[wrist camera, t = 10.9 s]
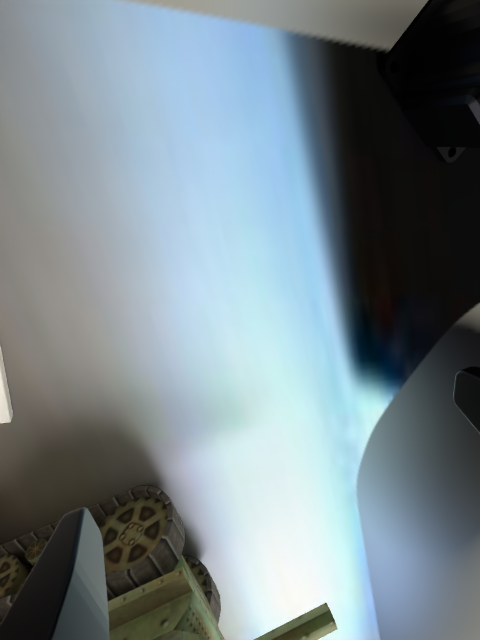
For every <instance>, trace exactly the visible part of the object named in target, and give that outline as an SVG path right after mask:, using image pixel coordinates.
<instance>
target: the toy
mask: <svg viewBox="0 0 480 640" xmlns="http://www.w3.org/2000/svg"><path fill="white" fill-rule="evenodd" d="M87 509H88V510H89V512H90V514H91V515H92V517H93V519H94V521H95V523H96V525H97V526H98V528H99V530H100V533H101V536H102V542H103V554H104V566H105V577H106V589H107V601H108V614H109V640H225V639H224V637H223V635H222V633H221V632H220V630H219V627H218V622H219V617H220V611H221V605H220V595H219V592H218V590H217V587H216V585H215V583H214V581H213V579H212V577H211V575H210V574H209V572H208V570H207V568H206V567H205V566H204V565H203V564H202V563H201V561H200V560H198V559H196V558H193V557H191V556H182V551H183V548H184V544H185V529H184V527H183V524H182V522H181V519H180V517H179V515H178V513H177V511H176V509H175V508H174V506H173V504H172V502H171V500H170V498H169V497H168V496H167V495H166V494H165V493H164V492H163V491H162V490H161V489H159V488H156V487H153V486H138V487H135V488H133V489H131V490H128V491H126V492H123V493H121V494H119V495H116V496H114V497H112V498H109V499H107V500H105V501H102V502H100V503H98V504H95V505H93V506H91V507H88V508H87ZM60 520H61V519H60ZM60 520H58V521H56V522H53V523H51V524H49V525H46V526H44V527H41V528H39V529H37V530H34V531H32V532H30V533H27V534H25V535H23V536H20V537H18V538H16V539H13V540H11V541H9V542H6V543H4V544H2V545H0V624H1V622H2V620H3V619H4V617H5V615H6V614H7V612H8V610H9V608H10V607H11V605H12V603H13V601H14V600H15V598H16V596H17V595H18V593H19V591H20V589H21V588H22V586H23V584H24V582H25V581H26V579H27V577H28V575H29V574H30V572H31V570H32V569H33V568H30V569H28V568H27V567H26V566H25V564H28V563H31V564H32V565H33V567H34V565H35V563H36V562H37V560H38V558H39V556H40V555H41V553H42V551H43V550H44V548H45V546H46V544H47V543H48V541H49V539H50V537H51V536H52V534H53V532H54V531H55V529H56V527H57V525H58V524H59V522H60ZM335 630H337V626H336V623H335V620H334V618H333V616H332V614H331V611H330V609H329V607H328V605H327V603H325V604H323V605H321V606H319V607H317V608H315V609H313V610H311V611H309V612H307V613H305V614H303V615H301V616H299V617H297V618H295V619H293V620H291V621H290V622H288V623H286V624H284V625H282V626H280V627H278V628H276V629H274V630H272V631H270V632H268V633H266V634H264V635H262V636H260V637H258V638H256V639H254V640H318V639H319V638H321V637H323V636H325V635H327V634H329V633H331V632H333V631H335Z"/></svg>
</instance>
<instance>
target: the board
mask: <svg viewBox="0 0 480 640" xmlns="http://www.w3.org/2000/svg"><path fill="white" fill-rule="evenodd" d="M12 417H13V410H12V405H11V400H10V394H9V389H8V384H7V378H6V373H5V368H4V362H3V357H2V351H1V346H0V423H8V422H11V420H12Z"/></svg>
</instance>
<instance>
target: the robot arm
mask: <svg viewBox="0 0 480 640" xmlns="http://www.w3.org/2000/svg"><path fill="white" fill-rule="evenodd" d="M392 62H393V64H394V71H393V73H392V72H391V70H390V65H391V63H392ZM380 74H381V76H382V78H383V80H384V81H385V82H386V84H387V85H388V87H389V88H390V90H391V91H392V92H393V94H394V95H395V97H396V98H397V100H398V101H399V102H400V104H401V105H402V112H403V114H404V115H405V116H406V118H407V119H408V121H409V122H410V123H411V125H412V126H413V128H414V129H415V131H416V132H417V133H418V135H419V136H420V138H421V139H422V141H423V142H424V143H425V145H426V146H427V147H431V148H432V150H433V151H434V153H435V154H436V155H437V157H438V158H439V160H440V161H441V162H449V163H451V162H453V161H455V160H456V159H457V158H458V157H459V155H460V154H461V153H462V152H463V151H464V149H465V148H466V147H471V148H480V0H429V1H428V2H427V3H426V4H425V6H424V7H423V8H422V10H421V11H420V12H419V14H418V15H417V16H416V17H415V19H414V20H413V21H412V23H411V24H410V25H409V27H408V28H407V29H406V31H405V32H404V33H403V34H402V36H401V37H400V38H399V40H398V41H397V42H396V43H395V45H394V46H393V47H392V49H391V50H390V51H389V53H388V54H387V55H386V56H385V58H384V59H383V61H382V63H381V66H380ZM449 149H450V154H449V155H448V151H449ZM453 399H454V402H455V404H456V406H457V407H458V408H459V409H460V411H461V412H462V413H463V414H464V416H465V417H466V418H467V419H468V420H469V421H470V423H471V424H472V425H473V426H474V427H475V428H476V430H477V431H478V432H479V433H480V368H479V367H468V368H466V369H463V370H460V371H458V372H457V374H456V377H455V385H454V393H453ZM0 640H109V614H108V601H107V589H106V577H105V566H104V554H103V542H102V536H101V533H100V530H99V528H98V526H97V525H96V523H95V521H94V519H93V517H92V515H91V514H90V512H89V510H88V509H87V508H86V507H81V508H78V509H76V510H73V511H70V512H68V513H66V514H65V515H64V516H63V517H62V518H61V520H60V522H59V524H58V525H57V527H56V529H55V531H54V532H53V534H52V536H51V537H50V539H49V541H48V543H47V544H46V546H45V548H44V550H43V551H42V553H41V555H40V556H39V558H38V560H37V562H36V563H35V565H34V567H33V569H32V570H31V572H30V574H29V575H28V577H27V579H26V581H25V582H24V584H23V586H22V588H21V589H20V591H19V593H18V595H17V596H16V598H15V600H14V601H13V603H12V605H11V607H10V608H9V610H8V612H7V614H6V615H5V617H4V619H3V620H2V622H1V624H0Z"/></svg>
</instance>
